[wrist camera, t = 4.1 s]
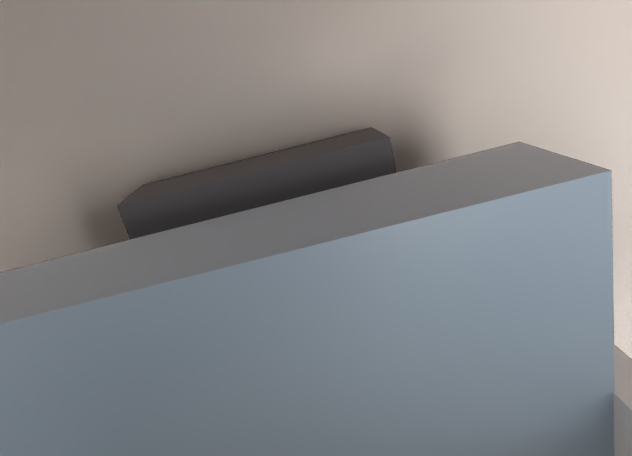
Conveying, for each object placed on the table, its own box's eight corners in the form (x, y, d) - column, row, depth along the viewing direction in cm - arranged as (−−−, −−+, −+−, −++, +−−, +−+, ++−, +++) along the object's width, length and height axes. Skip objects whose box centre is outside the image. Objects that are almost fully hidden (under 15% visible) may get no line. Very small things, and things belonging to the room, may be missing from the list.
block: (143, 185, 12) (117, 205, 10) (371, 127, 12) (389, 136, 10) (268, 523, 16) (266, 584, 14) (440, 479, 16) (463, 535, 14)
